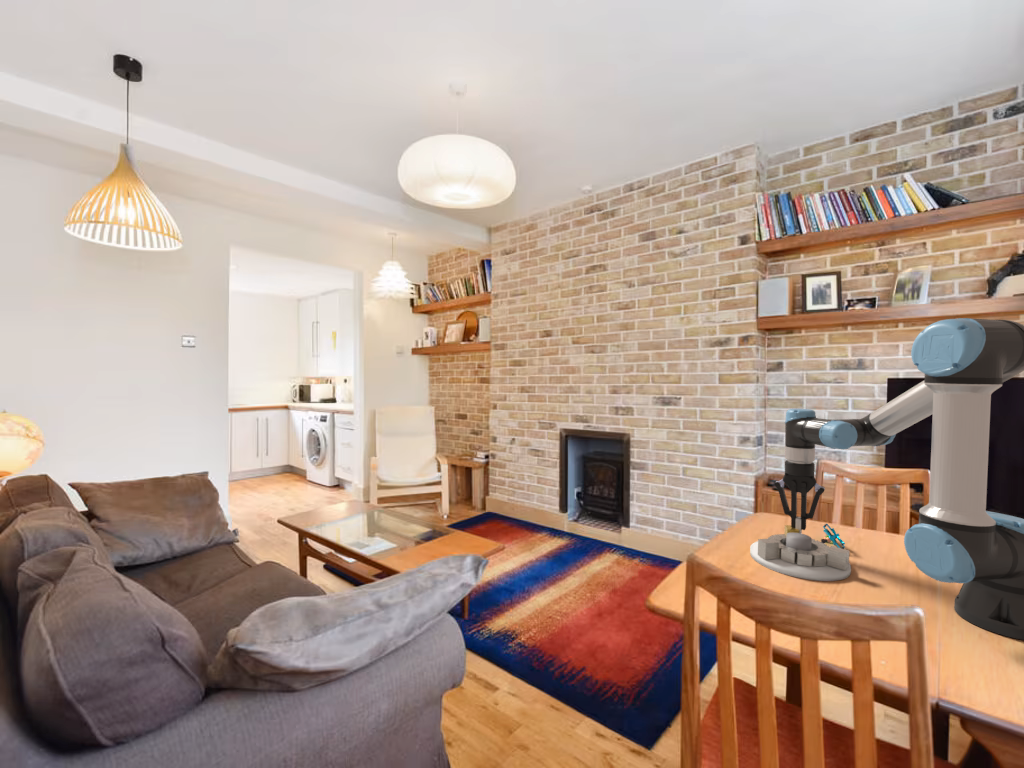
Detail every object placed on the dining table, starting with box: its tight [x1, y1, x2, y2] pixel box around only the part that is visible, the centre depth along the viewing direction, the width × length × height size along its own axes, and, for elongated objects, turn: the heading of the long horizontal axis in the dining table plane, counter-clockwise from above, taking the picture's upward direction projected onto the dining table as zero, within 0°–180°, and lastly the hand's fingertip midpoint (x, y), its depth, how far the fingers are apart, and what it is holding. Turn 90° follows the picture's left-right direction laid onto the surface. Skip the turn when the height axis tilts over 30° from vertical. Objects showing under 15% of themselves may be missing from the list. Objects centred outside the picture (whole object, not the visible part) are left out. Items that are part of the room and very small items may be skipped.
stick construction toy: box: [820, 523, 846, 549], centre depth 143 cm, size 12×7×8 cm
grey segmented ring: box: [757, 524, 850, 570], centre depth 133 cm, size 21×19×4 cm
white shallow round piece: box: [749, 533, 852, 582], centre depth 131 cm, size 24×24×7 cm
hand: (798, 539), depth 140 cm, fingers closed
